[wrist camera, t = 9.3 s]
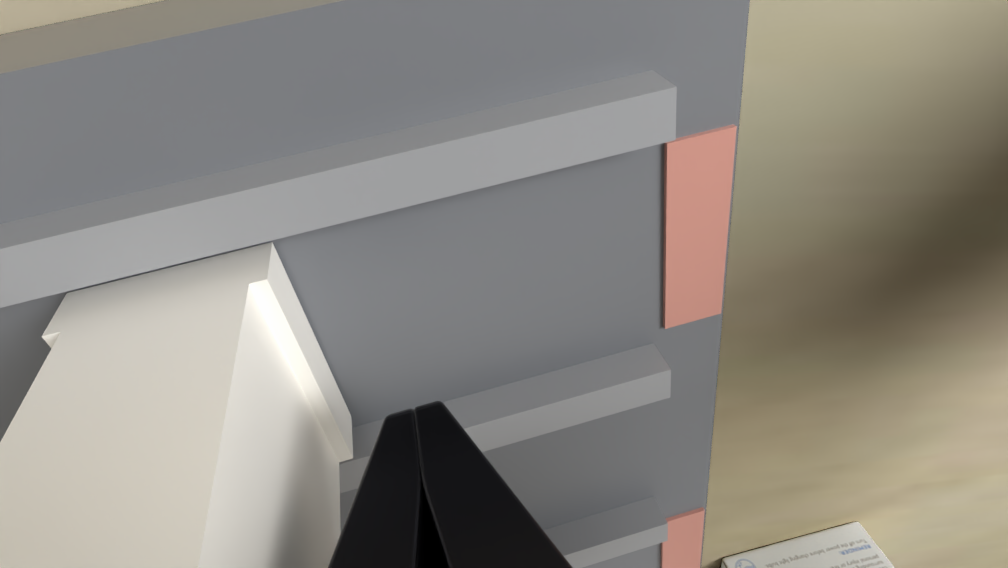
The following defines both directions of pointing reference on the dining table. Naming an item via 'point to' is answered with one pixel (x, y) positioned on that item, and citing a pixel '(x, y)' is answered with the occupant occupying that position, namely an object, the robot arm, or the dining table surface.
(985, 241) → the dining table surface
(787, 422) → the dining table surface
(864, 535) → the light bulb box
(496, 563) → the robot arm
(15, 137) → the breaker panel
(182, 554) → the white block
